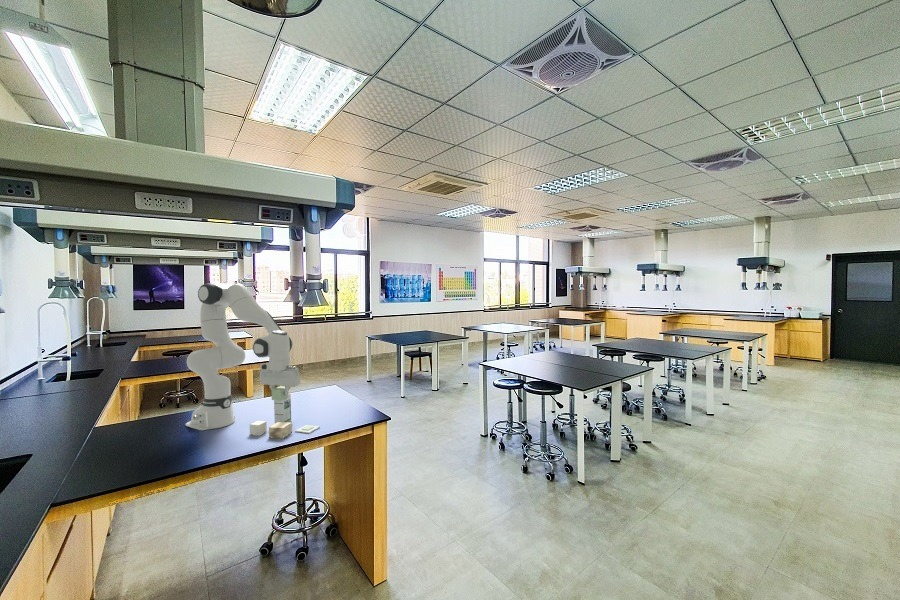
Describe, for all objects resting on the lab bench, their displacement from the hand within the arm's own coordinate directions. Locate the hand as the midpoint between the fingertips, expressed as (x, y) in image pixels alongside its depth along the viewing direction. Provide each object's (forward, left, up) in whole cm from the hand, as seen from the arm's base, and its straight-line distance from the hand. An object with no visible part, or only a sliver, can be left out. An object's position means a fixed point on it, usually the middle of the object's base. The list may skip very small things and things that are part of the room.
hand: (280, 394), depth 169 cm
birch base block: (0, 0, -19) cm, 19 cm away
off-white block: (-12, -1, -19) cm, 23 cm away
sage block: (0, 0, -2) cm, 2 cm away
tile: (+8, +9, -19) cm, 23 cm away
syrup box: (-11, +14, -19) cm, 26 cm away
